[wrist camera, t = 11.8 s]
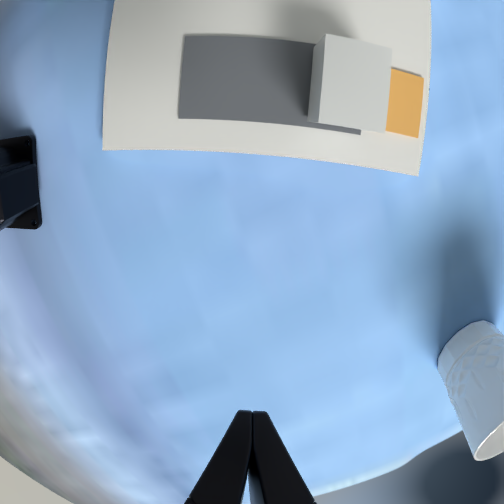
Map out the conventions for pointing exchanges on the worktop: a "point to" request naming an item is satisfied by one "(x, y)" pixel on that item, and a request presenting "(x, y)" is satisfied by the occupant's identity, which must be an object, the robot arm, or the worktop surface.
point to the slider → (350, 83)
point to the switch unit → (259, 78)
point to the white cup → (477, 385)
